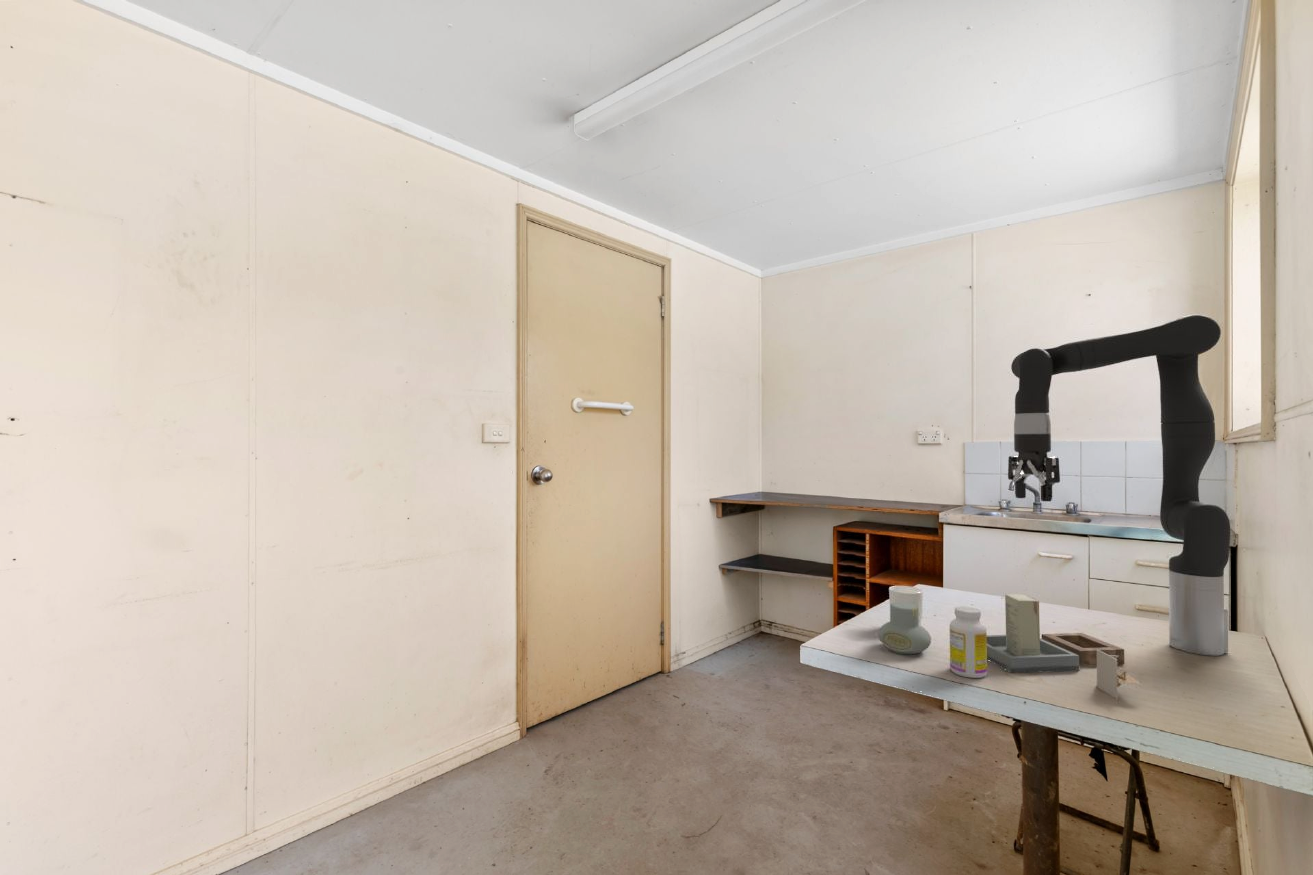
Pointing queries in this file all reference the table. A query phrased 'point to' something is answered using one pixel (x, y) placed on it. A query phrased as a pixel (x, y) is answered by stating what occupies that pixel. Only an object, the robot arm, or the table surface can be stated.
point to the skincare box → (1022, 625)
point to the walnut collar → (1084, 646)
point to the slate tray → (1031, 657)
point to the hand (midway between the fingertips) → (1033, 499)
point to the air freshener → (904, 630)
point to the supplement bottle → (968, 643)
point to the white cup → (907, 597)
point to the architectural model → (1111, 674)
